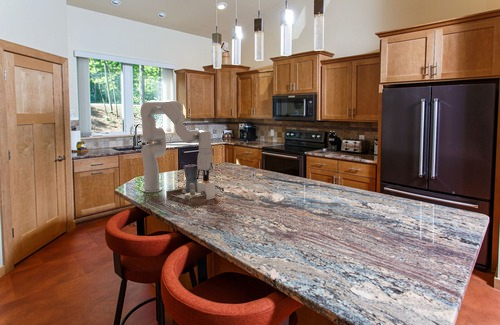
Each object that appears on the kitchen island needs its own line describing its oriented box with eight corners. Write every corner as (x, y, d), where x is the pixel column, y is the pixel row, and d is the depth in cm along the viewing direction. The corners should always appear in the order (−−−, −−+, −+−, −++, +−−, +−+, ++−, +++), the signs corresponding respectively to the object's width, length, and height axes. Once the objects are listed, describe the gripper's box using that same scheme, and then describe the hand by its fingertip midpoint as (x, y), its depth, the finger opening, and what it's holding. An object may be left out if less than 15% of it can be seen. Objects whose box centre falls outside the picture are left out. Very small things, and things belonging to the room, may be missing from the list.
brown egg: (201, 187, 201) (201, 180, 201) (206, 186, 204) (206, 179, 204) (205, 188, 199) (205, 181, 198) (210, 186, 202) (210, 180, 201)
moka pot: (189, 188, 227) (188, 160, 224) (206, 191, 218) (205, 162, 215) (179, 191, 219) (178, 161, 216) (196, 194, 210) (195, 164, 207)
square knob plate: (184, 199, 193) (183, 184, 192) (193, 196, 199) (193, 182, 197) (191, 201, 189) (191, 186, 187) (201, 198, 194) (200, 183, 193)
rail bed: (166, 198, 202) (166, 191, 201) (181, 194, 210) (180, 187, 209) (192, 205, 186) (191, 198, 185) (206, 201, 194) (206, 194, 194)
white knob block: (197, 198, 202) (196, 182, 201) (206, 195, 208) (205, 180, 206) (205, 200, 197) (205, 184, 195) (214, 197, 203) (214, 182, 201)
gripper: (192, 150, 200) (193, 180, 203) (208, 152, 190) (209, 183, 193) (201, 149, 205) (202, 178, 208) (218, 151, 196) (218, 181, 199)
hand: (206, 180), depth 201 cm, fingers closed
